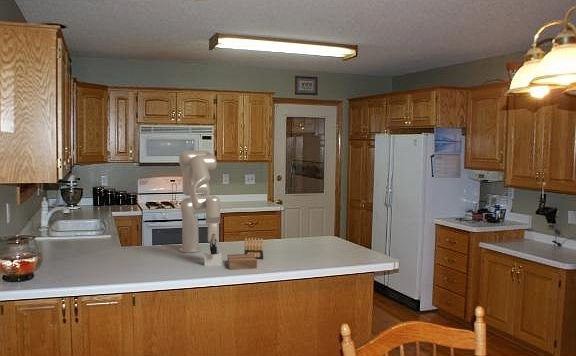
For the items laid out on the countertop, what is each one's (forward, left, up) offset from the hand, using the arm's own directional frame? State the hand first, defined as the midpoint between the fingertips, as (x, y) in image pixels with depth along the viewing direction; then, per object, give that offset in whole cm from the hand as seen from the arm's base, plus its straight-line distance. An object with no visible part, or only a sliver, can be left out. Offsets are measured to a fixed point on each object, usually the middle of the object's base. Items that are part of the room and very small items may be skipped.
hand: (213, 252), depth 269 cm
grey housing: (-1, 0, -7) cm, 7 cm away
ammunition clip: (-11, +23, -7) cm, 26 cm away
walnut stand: (+3, +15, -7) cm, 17 cm away
